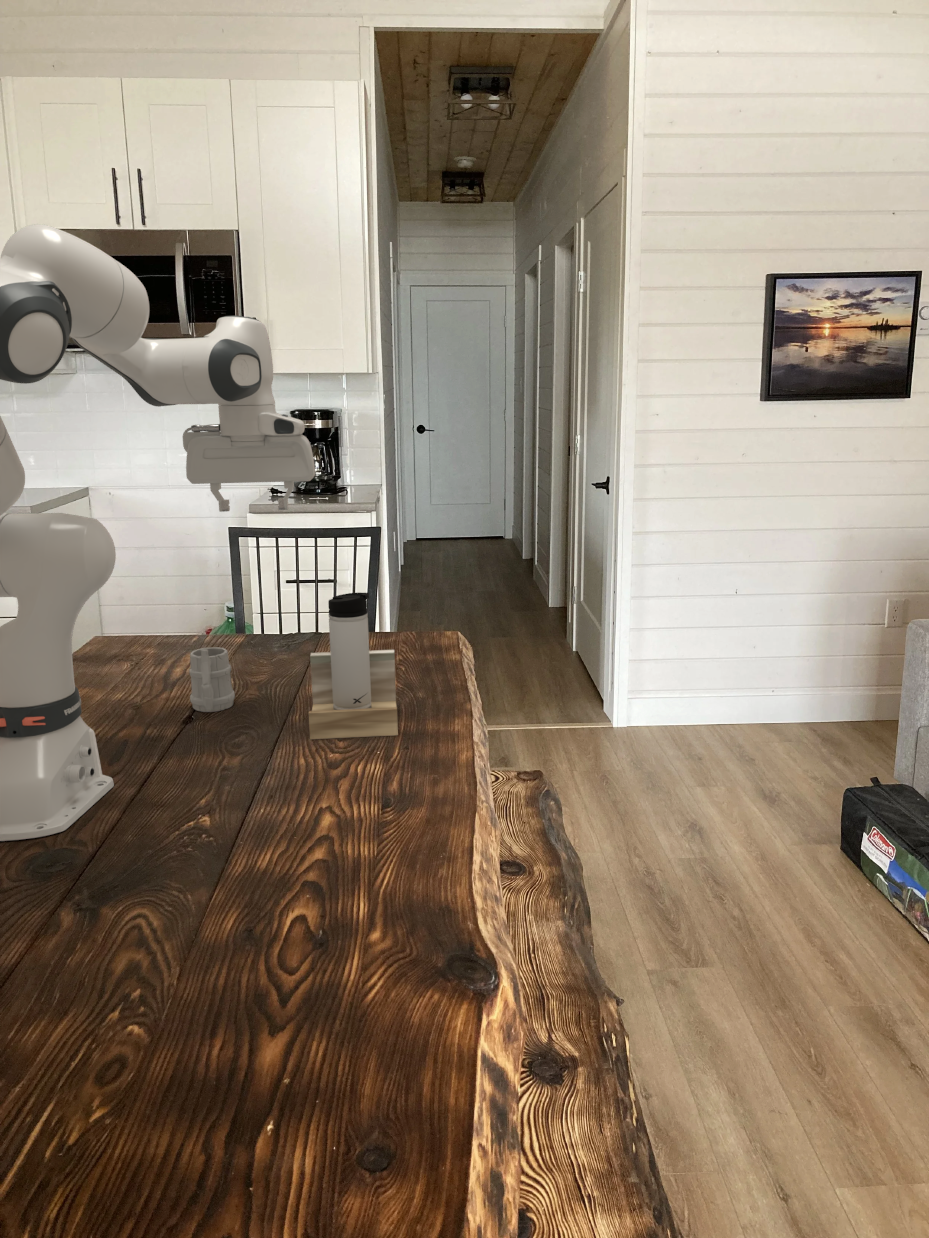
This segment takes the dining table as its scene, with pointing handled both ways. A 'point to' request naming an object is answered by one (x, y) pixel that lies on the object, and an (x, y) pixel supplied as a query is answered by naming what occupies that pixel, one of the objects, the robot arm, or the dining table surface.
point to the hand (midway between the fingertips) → (254, 510)
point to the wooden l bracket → (354, 720)
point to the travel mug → (350, 651)
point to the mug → (211, 680)
